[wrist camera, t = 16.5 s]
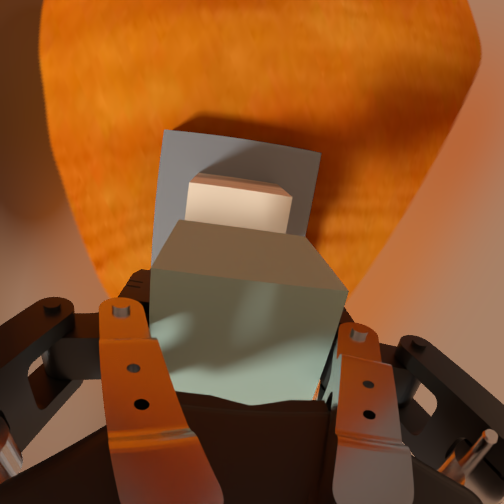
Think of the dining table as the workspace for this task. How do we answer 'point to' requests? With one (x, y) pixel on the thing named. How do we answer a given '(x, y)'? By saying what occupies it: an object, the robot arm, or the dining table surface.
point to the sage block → (243, 312)
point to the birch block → (238, 203)
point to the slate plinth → (230, 175)
